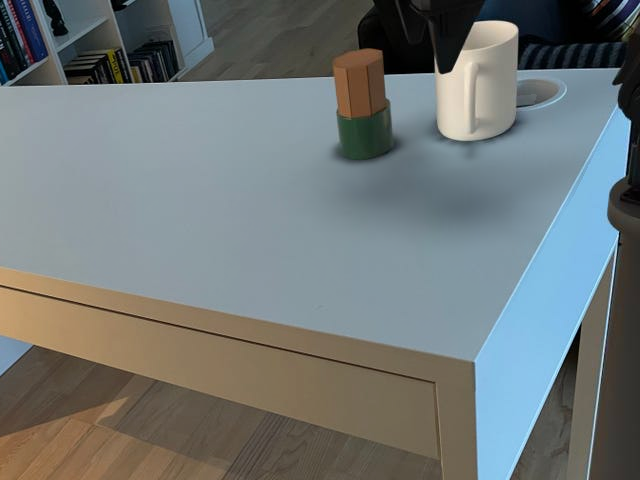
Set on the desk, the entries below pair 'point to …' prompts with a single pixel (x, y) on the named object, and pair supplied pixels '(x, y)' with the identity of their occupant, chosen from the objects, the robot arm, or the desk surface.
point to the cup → (480, 84)
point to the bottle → (366, 134)
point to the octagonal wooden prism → (360, 83)
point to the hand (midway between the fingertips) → (429, 57)
